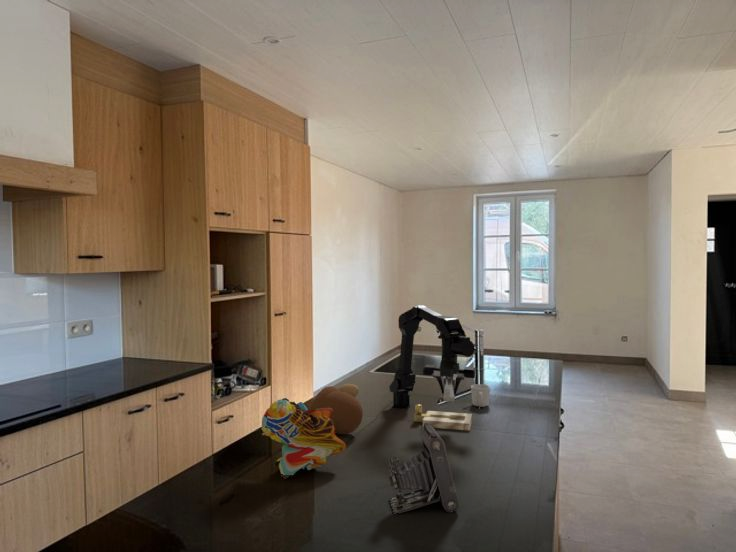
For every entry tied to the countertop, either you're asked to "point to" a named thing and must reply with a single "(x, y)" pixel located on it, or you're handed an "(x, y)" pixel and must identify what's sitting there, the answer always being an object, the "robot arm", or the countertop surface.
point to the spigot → (449, 389)
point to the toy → (340, 407)
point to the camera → (424, 476)
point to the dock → (449, 420)
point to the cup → (480, 395)
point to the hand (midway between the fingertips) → (449, 394)
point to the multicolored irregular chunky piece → (301, 435)
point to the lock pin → (419, 413)
